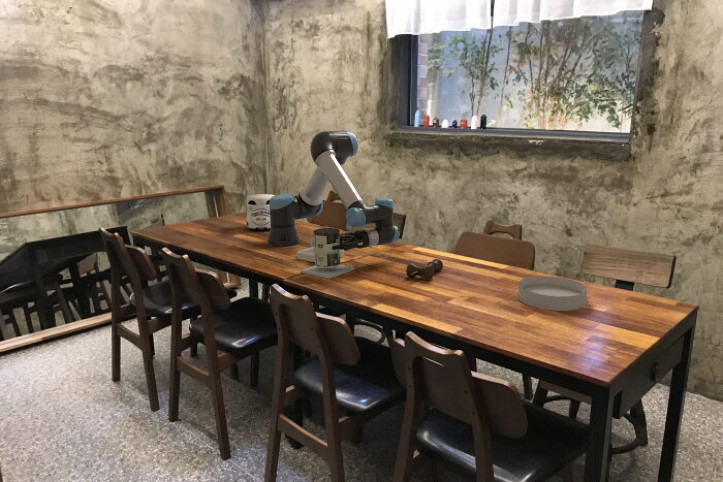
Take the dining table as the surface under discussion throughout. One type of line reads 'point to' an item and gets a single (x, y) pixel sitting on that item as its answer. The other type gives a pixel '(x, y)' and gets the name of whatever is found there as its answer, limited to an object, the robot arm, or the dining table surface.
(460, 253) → the dining table surface
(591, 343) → the dining table surface
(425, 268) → the kendama
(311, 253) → the frame
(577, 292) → the dish
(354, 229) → the ceramic mug
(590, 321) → the dining table surface
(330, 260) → the coffee can
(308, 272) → the mat
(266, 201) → the milk container
